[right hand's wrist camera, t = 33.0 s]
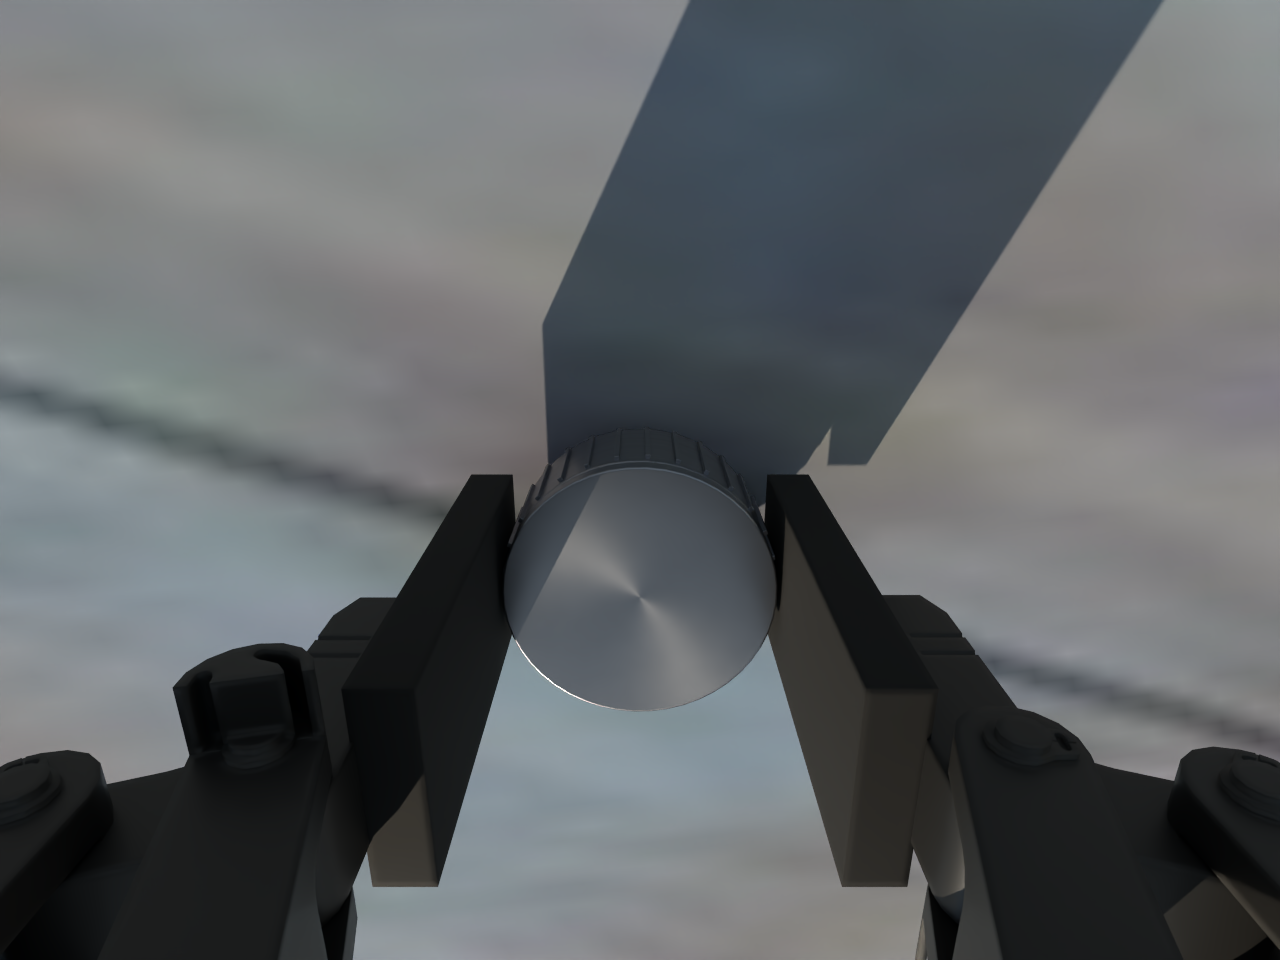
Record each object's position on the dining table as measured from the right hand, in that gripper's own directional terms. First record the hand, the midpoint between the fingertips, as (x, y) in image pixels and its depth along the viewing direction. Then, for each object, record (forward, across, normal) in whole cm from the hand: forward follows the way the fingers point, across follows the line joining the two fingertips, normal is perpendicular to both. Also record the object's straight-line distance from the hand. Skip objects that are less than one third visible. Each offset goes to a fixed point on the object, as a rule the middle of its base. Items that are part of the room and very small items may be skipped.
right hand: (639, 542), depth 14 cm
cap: (-2, 0, 0) cm, 2 cm away
